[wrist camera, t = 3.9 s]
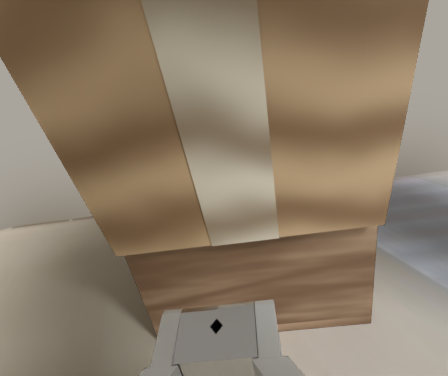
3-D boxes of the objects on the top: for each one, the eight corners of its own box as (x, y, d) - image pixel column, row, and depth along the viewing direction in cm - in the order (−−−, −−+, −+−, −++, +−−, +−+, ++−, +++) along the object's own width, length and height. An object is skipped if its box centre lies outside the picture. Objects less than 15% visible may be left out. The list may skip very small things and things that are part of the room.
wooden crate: (370, 323, 30) (378, 215, 25) (159, 342, 32) (120, 246, 27) (323, 213, 46) (321, 132, 40) (183, 231, 48) (162, 155, 42)
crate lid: (378, 213, 24) (385, 225, 23) (120, 244, 26) (116, 257, 25) (434, -110, 13) (452, -112, 12) (-22, -13, 15) (-39, -8, 14)
